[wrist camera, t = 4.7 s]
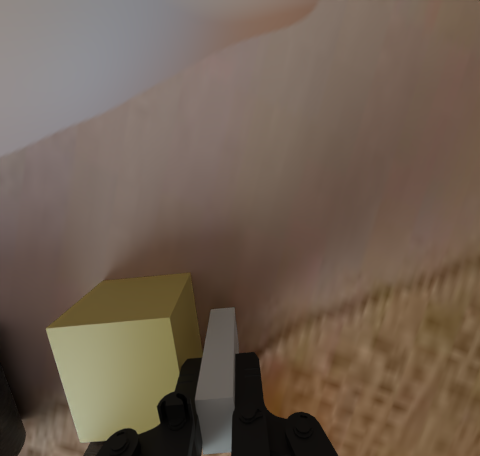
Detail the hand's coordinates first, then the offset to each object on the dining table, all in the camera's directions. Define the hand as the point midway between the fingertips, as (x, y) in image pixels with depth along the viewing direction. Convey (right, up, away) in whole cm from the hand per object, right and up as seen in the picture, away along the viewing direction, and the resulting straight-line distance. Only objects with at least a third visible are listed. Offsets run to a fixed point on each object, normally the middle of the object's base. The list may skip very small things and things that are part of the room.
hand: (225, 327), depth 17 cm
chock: (-5, 0, +2) cm, 5 cm away
